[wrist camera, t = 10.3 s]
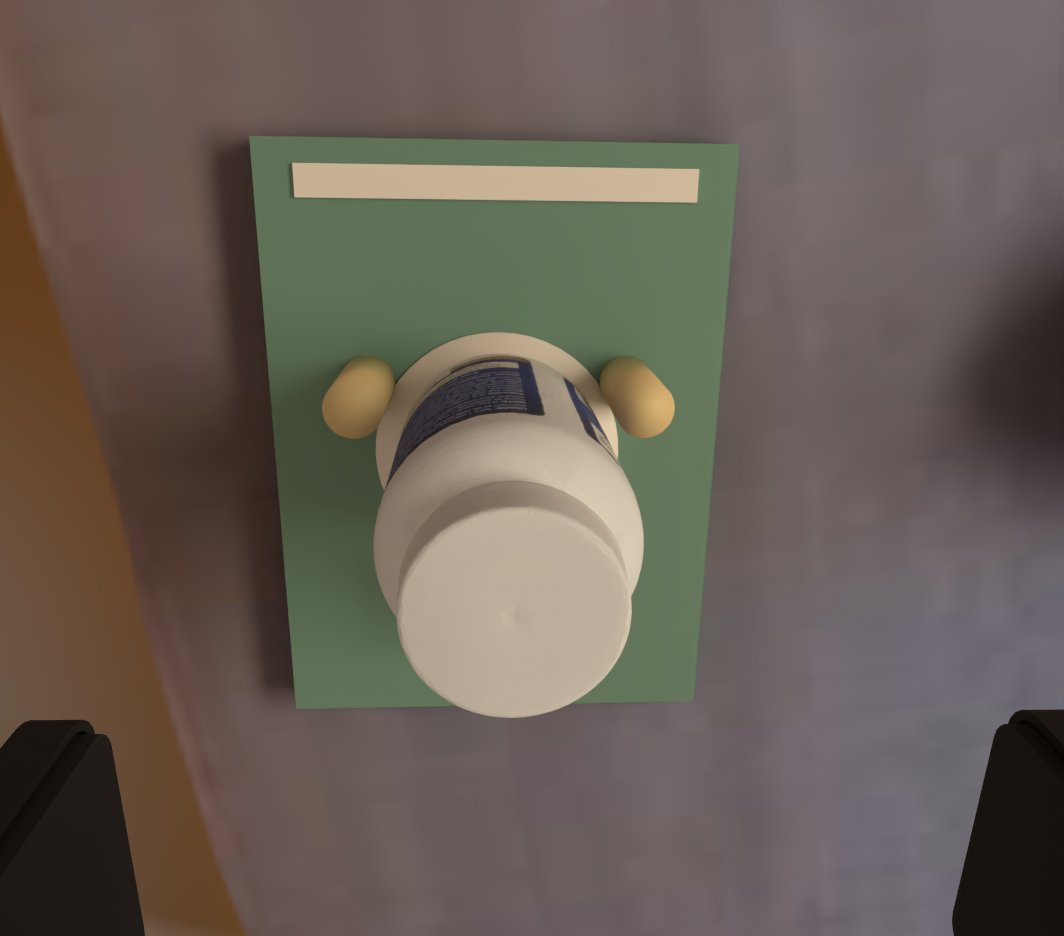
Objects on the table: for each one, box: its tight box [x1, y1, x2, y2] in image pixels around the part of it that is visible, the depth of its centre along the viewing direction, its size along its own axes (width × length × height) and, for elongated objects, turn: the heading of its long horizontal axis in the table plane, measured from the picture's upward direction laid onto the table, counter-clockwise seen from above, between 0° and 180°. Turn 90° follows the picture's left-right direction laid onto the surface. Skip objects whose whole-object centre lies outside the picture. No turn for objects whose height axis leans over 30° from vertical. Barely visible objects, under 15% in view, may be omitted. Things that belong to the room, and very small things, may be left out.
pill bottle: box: [373, 354, 644, 718], centre depth 19 cm, size 5×5×10 cm
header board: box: [249, 136, 740, 709], centre depth 23 cm, size 16×12×4 cm
